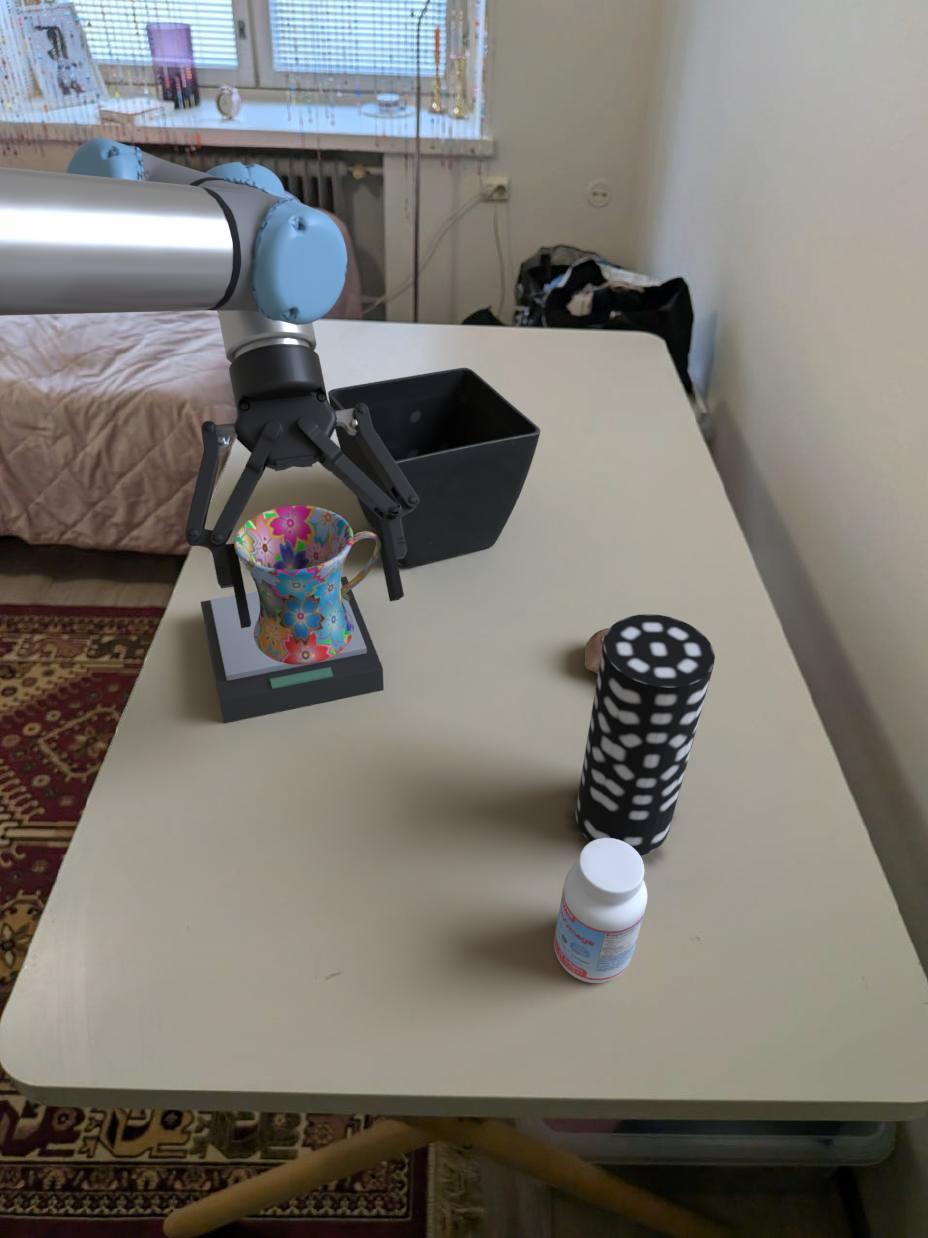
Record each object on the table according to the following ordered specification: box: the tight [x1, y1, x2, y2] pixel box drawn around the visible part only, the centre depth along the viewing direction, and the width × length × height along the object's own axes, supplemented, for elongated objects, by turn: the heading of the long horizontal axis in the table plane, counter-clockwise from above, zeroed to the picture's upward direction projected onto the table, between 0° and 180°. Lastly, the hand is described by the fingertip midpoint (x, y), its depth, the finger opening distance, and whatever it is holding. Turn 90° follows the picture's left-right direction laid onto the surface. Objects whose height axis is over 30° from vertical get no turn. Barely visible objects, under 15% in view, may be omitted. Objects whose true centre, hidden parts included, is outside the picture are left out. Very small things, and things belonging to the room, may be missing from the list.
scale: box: [200, 575, 385, 724], centre depth 96 cm, size 16×16×4 cm
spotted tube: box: [575, 613, 716, 856], centre depth 76 cm, size 8×8×20 cm
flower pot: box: [327, 367, 541, 568], centre depth 111 cm, size 19×19×17 cm
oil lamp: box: [584, 627, 610, 675], centre depth 96 cm, size 9×4×8 cm
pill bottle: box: [553, 838, 648, 984], centre depth 69 cm, size 6×6×11 cm
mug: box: [233, 505, 382, 665], centre depth 77 cm, size 12×9×11 cm
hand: (323, 612), depth 76 cm, fingers closed on mug, 12 cm apart
